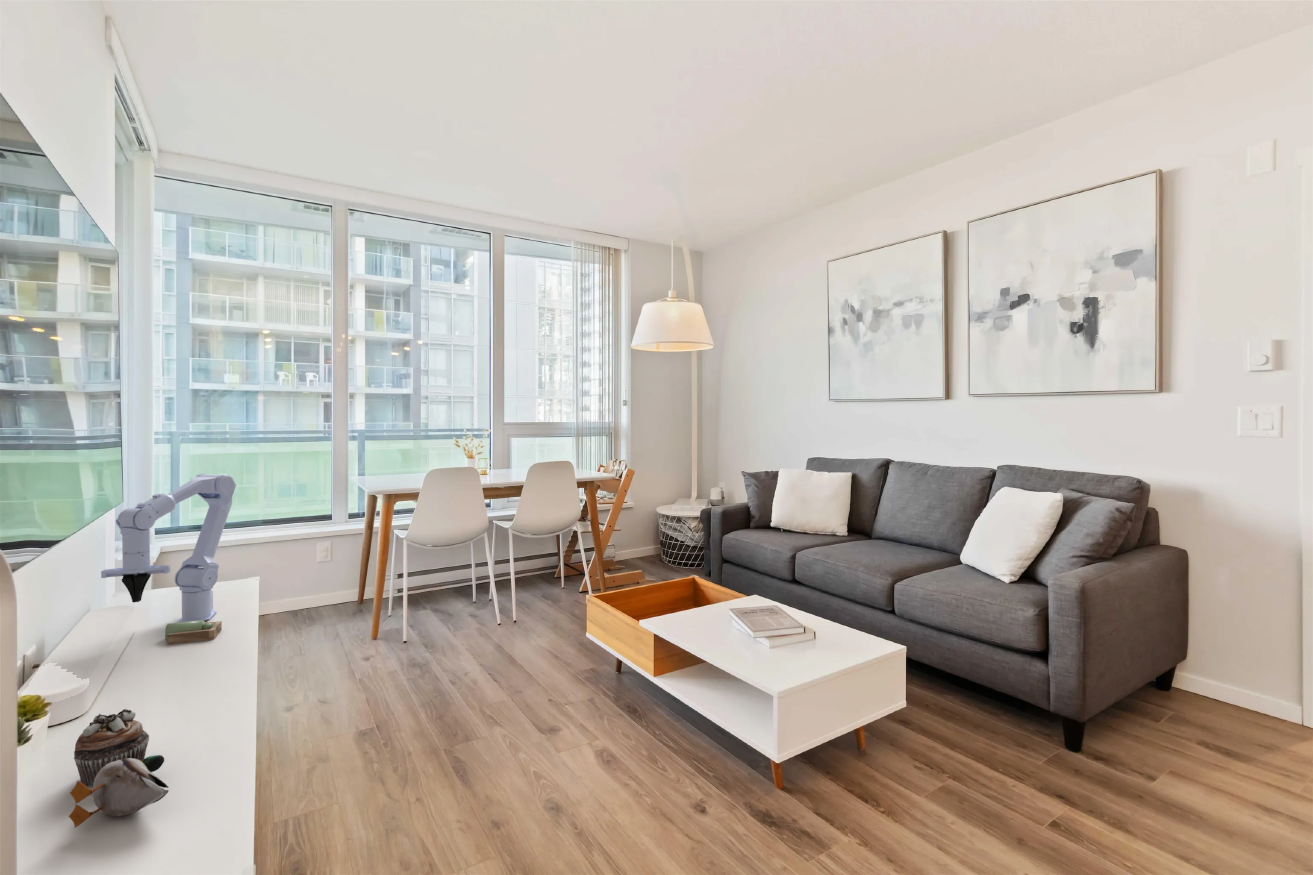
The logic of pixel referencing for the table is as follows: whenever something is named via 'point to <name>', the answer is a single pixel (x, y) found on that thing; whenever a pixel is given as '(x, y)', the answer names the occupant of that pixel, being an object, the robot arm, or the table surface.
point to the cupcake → (109, 743)
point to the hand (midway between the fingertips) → (136, 601)
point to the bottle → (186, 627)
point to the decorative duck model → (121, 788)
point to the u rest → (196, 634)
